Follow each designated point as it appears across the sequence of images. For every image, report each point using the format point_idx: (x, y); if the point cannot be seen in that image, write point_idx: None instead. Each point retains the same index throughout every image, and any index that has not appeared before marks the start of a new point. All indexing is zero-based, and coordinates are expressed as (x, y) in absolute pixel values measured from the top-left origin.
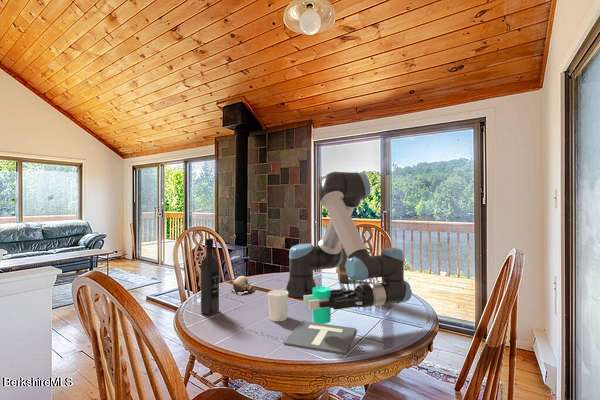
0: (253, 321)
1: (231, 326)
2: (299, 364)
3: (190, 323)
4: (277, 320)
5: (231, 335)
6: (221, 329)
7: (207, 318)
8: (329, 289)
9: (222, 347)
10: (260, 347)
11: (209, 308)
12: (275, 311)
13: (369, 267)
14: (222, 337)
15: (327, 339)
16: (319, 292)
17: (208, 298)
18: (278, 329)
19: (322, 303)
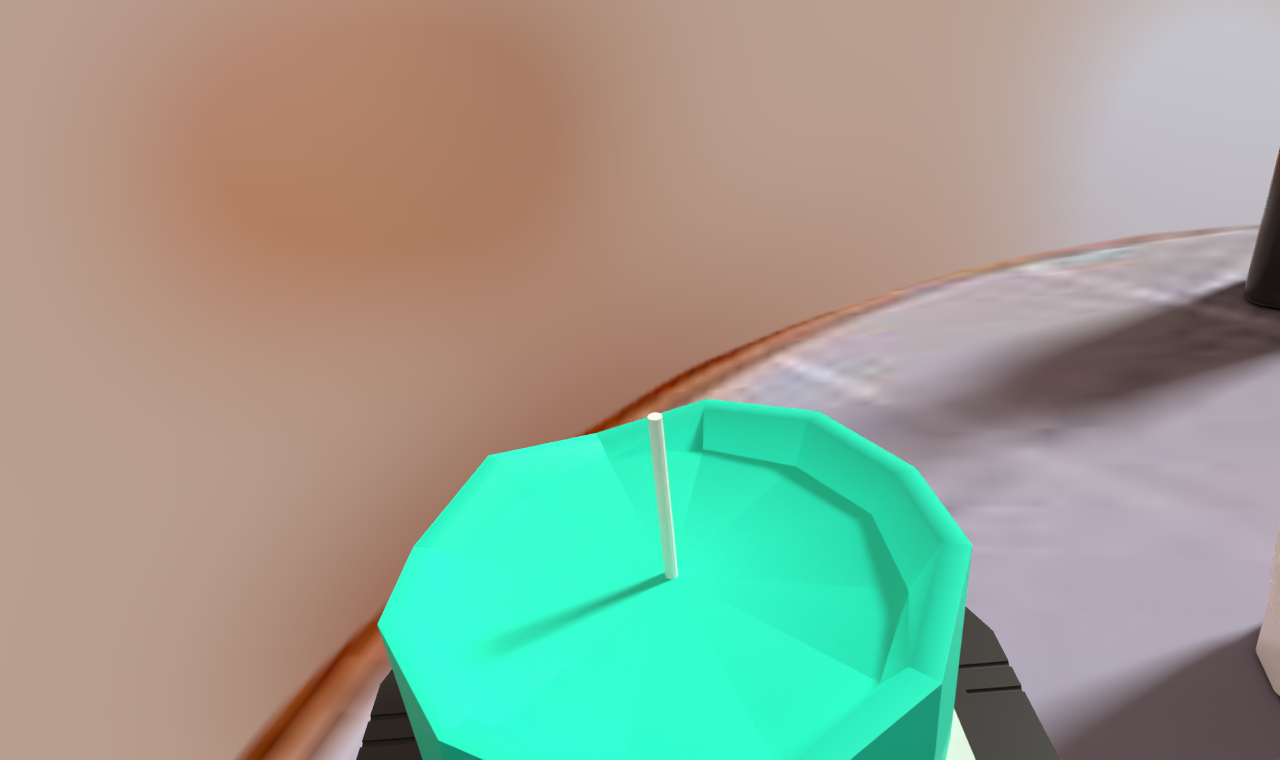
0: (1200, 492)
1: (1054, 393)
2: (279, 727)
3: (1075, 268)
4: (1263, 657)
5: (892, 401)
6: (993, 361)
7: (1180, 302)
8: (519, 747)
9: (727, 384)
10: None
11: (1254, 254)
12: (1277, 551)
13: None
14: (865, 374)
15: None
16: (474, 499)
17: (1273, 178)
18: (1021, 657)
19: (381, 695)
